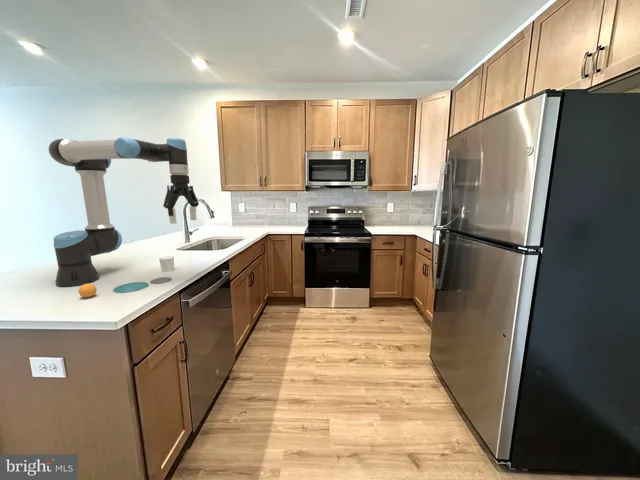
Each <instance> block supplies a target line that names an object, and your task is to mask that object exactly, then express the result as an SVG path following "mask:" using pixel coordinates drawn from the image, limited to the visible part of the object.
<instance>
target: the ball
mask: <svg viewBox="0 0 640 480" xmlns="http://www.w3.org/2000/svg"><path fill="white" fill-rule="evenodd" d="M97 290H98V289H97V286H96V285H94V284H92V283H87V284H82V285H80V287H79V288H78V295H80V297H83V298H90V297H93V296H94V295H95V294H96V293H97Z"/></svg>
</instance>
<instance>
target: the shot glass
mask: <svg viewBox="0 0 640 480" xmlns="http://www.w3.org/2000/svg"><path fill="white" fill-rule="evenodd" d="M158 259H159V263H160V269H161V272H162V273H163V272H164V273H167V272H168V273H169V272H173V271H174V270H175V257H174V256H162V257H159V258H158Z"/></svg>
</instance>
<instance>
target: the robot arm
mask: <svg viewBox="0 0 640 480" xmlns="http://www.w3.org/2000/svg"><path fill="white" fill-rule="evenodd" d="M48 153H49V155H50V157H51V159H53V160H54V161H55V162H57V163H59V164H60V165H63V166H67V167H74V171H75V172H76V173H77V174H79V175H80V182H81V188H82V194H83V200H84V206H85V213H86V218H87V226H85V227H84V230H82V229H80V230H73V231H67V232H62V233H59V234H56V235H55V236H54V237H53V248H54V251H55V256H56V261H57V267H58V268H57V272H56V277H55V280H54V281H55V282H54V283H55V285H56V287H60V288H62V287H65V288H66V287H67V288H68V287H77V286H82V285H84V284H91V283H93V282H95V281H98V280H99V279H100V275H99V272H98V270H97V269H96V267H95V266H94V264H93V262H92V257H93V256H99V255H102V254H108V253H111V252H115V251H117V250H118V249H119V248H120V247H121V245H122V242H123V238H122V235H121V233H120V231H119V230H118V229H115V228H116V227H115V225H113V224H112V223H111V221H110V219H111V218H110V214H109V213H110V212H109V205H108V199H107V193H106V187H105V179H104V175H105V174H107V169H109V167H111V166H110V165H112V160H120V159H125V160H127V159H128V160H131V159H137V160H144V161H147V162H151V163H161V162H162V163H163V162H168V165H169V167H168V168H169V174H170V176H169V177H170V183H171V184H172V185H167V187H166V190H167V191H166V194H165V198H164V201H163V205H162V206H163V208H165V209H166V210H167V213H168V215H167V216H168V217H169V223H170V224H173V225H174V224H177V213H176V208H175V206H176V204H177V201H178V200H179V198H180V197H181V196H182V197H184V198H185V200H186V201H187V202H188V204H189V215H190V216H189V217H190V218H189V219H190V221H197V220H198V218H197V207H199V204H200V203H199V201H198V199H197V196H196V193H195V191H194V186H193V185H188V184H190V183H191V182H190V176H189V164H188V149H187V143H186V141H185V139H182V138H179V137H178V138H177V137H167V138H166V143H154V142H149V141H144V140H139V139H136V138H131V137H124V136H120V137H118V138H116V139H102V140H101V139H100V140H96V139H95V140H80V141H78V140H74V139H70V138H58V139H55V140H52V141H51V142H50V144H49V146H48Z"/></svg>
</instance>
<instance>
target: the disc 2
mask: <svg viewBox="0 0 640 480" xmlns="http://www.w3.org/2000/svg"><path fill="white" fill-rule="evenodd" d="M172 280H173V278H172V277H170V276H168V277H167V276H163V277H157V278H153V279H151V280H150V281H149V283H150V284H151V285H152V284H154V285H157V284H164V283H165V284H166V283H169V282H170V281H172Z"/></svg>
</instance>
